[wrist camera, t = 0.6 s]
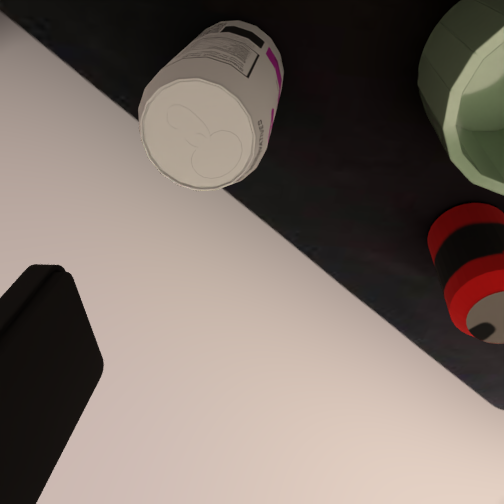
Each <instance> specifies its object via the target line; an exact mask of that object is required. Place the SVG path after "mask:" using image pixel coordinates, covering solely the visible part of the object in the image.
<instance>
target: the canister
mask: <svg viewBox="0 0 504 504" xmlns="http://www.w3.org/2000/svg"><path fill="white" fill-rule="evenodd" d="M418 88H419V93H420V97H421V100H422V103H423V107H424V110H425V112H426V114H427V116H428V118H429V120H430V122H431V124H432V125H433V127H434V129H435V131H436V133H437V135H438V137H439V139H440V141H441V143H442V144H443V146H444V148H445V150H446V152H447V154H448V156H449V158H450V160H451V161H452V162H453V163H454V164H455V166H456V167H457V168H458V169H459V170H460V171H461V172H462V173H463V174H464V175H465V176H466V178H467V179H468V180H469V181H470V182H472V183H473V184H476V185H478V186H481V187H483V188H486V189H488V190H491V191H493V192H496V193H498V194H501V195H504V0H460V1H459V2H458V3H457V4H455V5H454V6H453V7H452V8H451V9H450V10H449V11H448V12H447V13H446V14H445V15H444V16H443V17H442V19H441V20H440V21H439V23H438V24H437V25H436V26H435V28H434V30H433V31H432V33H431V34H430V36H429V38H428V40H427V42H426V44H425V47H424V49H423V52H422V55H421V59H420V63H419V69H418Z"/></svg>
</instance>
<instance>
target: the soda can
mask: <svg viewBox="0 0 504 504" xmlns="http://www.w3.org/2000/svg"><path fill="white" fill-rule="evenodd" d="M427 240H428V247H429V250H430V253H431V256H432V260H433V263H434V266H435V269H436V272H437V275H438V279H439V282H440V285H441V288H442V291H443V294H444V298H445V301H446V304H447V307H448V310H449V313H450V316H451V319H452V321H453V323H454V324H455V326H456V327H457V328H458V329H460V330H461V331H462V332H464V333H466V334H468V335H470V336H473V337H476V338H478V339H479V340H482V341H485V342H489V343H499V344H500V343H504V213H503V212H502V211H501V210H499V209H498V208H496V207H494V206H491V205H489V204H484V203H468V204H463V205H459V206H456V207H454V208H452V209H450V210H448V211H446V212H445V213H443V214H442V215H441V216H440V217H439V218H438V219H437V220H436V221H435V222H434V223H433V225H432V226H431V228H430V231H429V233H428V238H427Z"/></svg>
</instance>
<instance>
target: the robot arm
mask: <svg viewBox="0 0 504 504" xmlns="http://www.w3.org/2000/svg"><path fill="white" fill-rule="evenodd" d="M103 366H104V365H103V358H102V356H101V352H100V350H99V347H98V345H97V342H96V339H95V336H94V333H93V331H92V328H91V326H90V323H89V320H88V317H87V314H86V312H85V309H84V306H83V304H82V301H81V298H80V295H79V293H78V290H77V287H76V285H75V282H74V279H73V277H72V275H71V274H70V273H69V272H66V271H65V269H64V268H63V267H62V266H60V265H37V264H35V265H31V266H29V267H28V268H27V269H26V270H25V271H24V272H23V273H22V275H21V276H20V277H19V278H18V279H17V280H16V281H15V282H14V283H13V284H12V286H11V287H10V288H9V289H8V290H7V291H6V292H5V293H4V294H3V296H2V297H1V298H0V504H36V502H37V500H38V498H39V497H40V495H41V493H42V491H43V489H44V487H45V485H46V483H47V481H48V479H49V477H50V475H51V473H52V471H53V469H54V467H55V465H56V463H57V461H58V459H59V458H60V456H61V454H62V452H63V450H64V448H65V446H66V444H67V442H68V440H69V438H70V436H71V434H72V432H73V430H74V428H75V426H76V424H77V423H78V421H79V418H80V416H81V415H82V413H83V411H84V409H85V407H86V405H87V403H88V401H89V399H90V397H91V395H92V393H93V391H94V389H95V387H96V385H97V383H98V381H99V379H100V378H101V375H102V372H103Z"/></svg>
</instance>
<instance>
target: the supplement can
mask: <svg viewBox="0 0 504 504" xmlns="http://www.w3.org/2000/svg"><path fill="white" fill-rule="evenodd" d="M283 75H284V69H283V65H282V60H281V55H280V53H279V51H278V49H277V48H276V46H275V44H274V43H273V41H272V39H271V38H270V37H269V36H268V35H267V34H265V33H264V32H263V31H262V30H260V29H259V28H258V27H257V26H255V25H252V24H249V23H245V22H242V21H239V20H236V21H221V22H219V23H217V24H215V25H213V26H211V27H209V28H207V29H205V30H204V31H203V32H202V33H201V34H200V35H199V36H198V37H196V38H195V39H194V40H193V41H192V42H191V43H190V44H189V45H188V46H187V47H185V48H184V49H183V50H182V51H181V52H180V53H179V54H178V55H177V56H176V57H174V58H173V59H172V60H171V61H170V62H169V63H168V64H167V65H166V66H165V67H163V68H162V69H161V70H160V71H159V72H158V73H157V75H156V76H155V77H154V78H153V79H152V80H151V82H150V83H149V84H148V85H147V86H146V87H145V90H144V93H143V96H142V99H141V102H140V105H139V108H138V114H139V131H140V134H141V141H142V143H143V146H144V148H145V151H146V153H147V156H148V158H149V160H150V161H151V162H152V163H153V165H154V166H155V167H156V168H157V169H158V170H159V172H160V173H161V174H162V175H164V176H165V177H167V178H168V179H170V180H171V181H173V182H174V183H176V184H177V185H180V186H183V187H186V188H189V189H193V190H196V191H207V190H217V189H220V188H223V187H226V186H228V185H231V184H234V183H237V182H239V181H242V180H243V179H244V178H245V177H246V176H247V175H249V174H250V173H251V172H252V171H253V170H254V169H256V168H257V166H258V164H259V162H260V160H261V158H262V157H263V155H264V153H265V151H266V149H267V145H268V141H269V137H270V133H271V129H272V125H273V121H274V117H275V114H276V110H277V106H278V102H279V98H280V94H281V90H282V83H283Z"/></svg>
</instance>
